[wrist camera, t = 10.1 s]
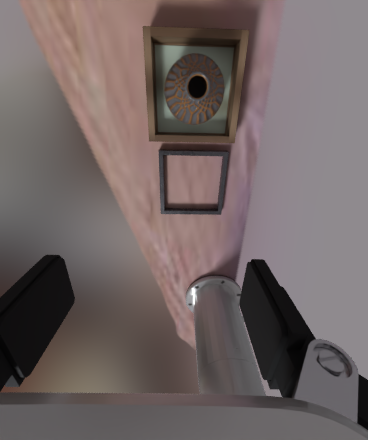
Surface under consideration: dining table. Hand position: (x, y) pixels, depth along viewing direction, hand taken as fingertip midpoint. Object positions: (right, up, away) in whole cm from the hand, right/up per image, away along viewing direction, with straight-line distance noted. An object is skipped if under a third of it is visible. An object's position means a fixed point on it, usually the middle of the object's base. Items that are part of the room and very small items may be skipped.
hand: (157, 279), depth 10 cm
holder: (+3, +20, +17) cm, 26 cm away
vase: (+3, +20, +16) cm, 26 cm away
